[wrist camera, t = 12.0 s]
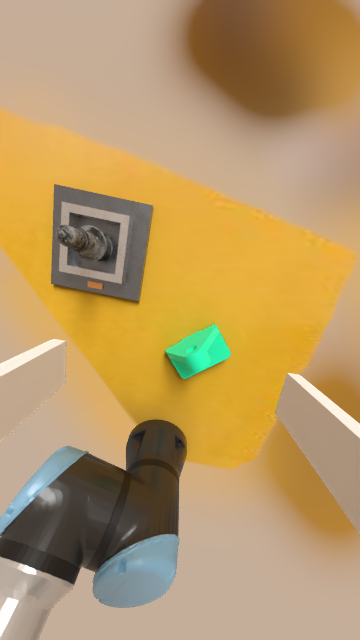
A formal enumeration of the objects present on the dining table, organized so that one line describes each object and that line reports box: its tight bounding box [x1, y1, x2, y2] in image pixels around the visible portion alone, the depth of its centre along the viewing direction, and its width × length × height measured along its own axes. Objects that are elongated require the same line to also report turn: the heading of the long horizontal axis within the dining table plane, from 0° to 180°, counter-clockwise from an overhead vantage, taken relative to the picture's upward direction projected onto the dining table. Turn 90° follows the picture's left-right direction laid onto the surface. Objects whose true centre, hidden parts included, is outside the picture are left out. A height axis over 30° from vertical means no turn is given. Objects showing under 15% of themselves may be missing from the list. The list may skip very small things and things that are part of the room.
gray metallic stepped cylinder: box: [56, 225, 113, 261], centre depth 30 cm, size 6×6×12 cm
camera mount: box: [166, 324, 231, 379], centre depth 37 cm, size 12×8×10 cm, turn 119°
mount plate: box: [51, 184, 153, 301], centre depth 35 cm, size 18×18×4 cm
